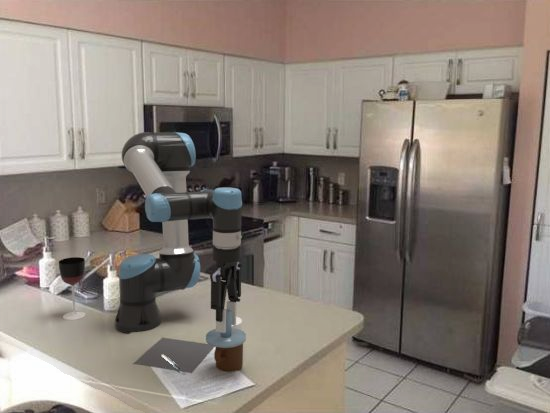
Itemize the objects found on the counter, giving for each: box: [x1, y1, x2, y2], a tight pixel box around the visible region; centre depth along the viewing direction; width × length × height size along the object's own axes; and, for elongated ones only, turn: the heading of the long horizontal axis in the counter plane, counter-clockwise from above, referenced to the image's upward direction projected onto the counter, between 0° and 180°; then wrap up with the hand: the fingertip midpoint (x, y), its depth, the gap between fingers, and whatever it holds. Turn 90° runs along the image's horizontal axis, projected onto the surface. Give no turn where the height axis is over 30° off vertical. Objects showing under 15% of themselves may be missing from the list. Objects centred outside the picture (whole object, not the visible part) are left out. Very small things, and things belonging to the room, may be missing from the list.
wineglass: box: [58, 256, 87, 321], centre depth 174 cm, size 8×9×20 cm
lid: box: [205, 309, 247, 348], centre depth 137 cm, size 11×11×8 cm
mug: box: [213, 343, 244, 373], centre depth 139 cm, size 12×8×9 cm, turn 159°
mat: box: [132, 337, 215, 374], centre depth 148 cm, size 18×18×1 cm
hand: (226, 327), depth 137 cm, fingers open, 5 cm apart
